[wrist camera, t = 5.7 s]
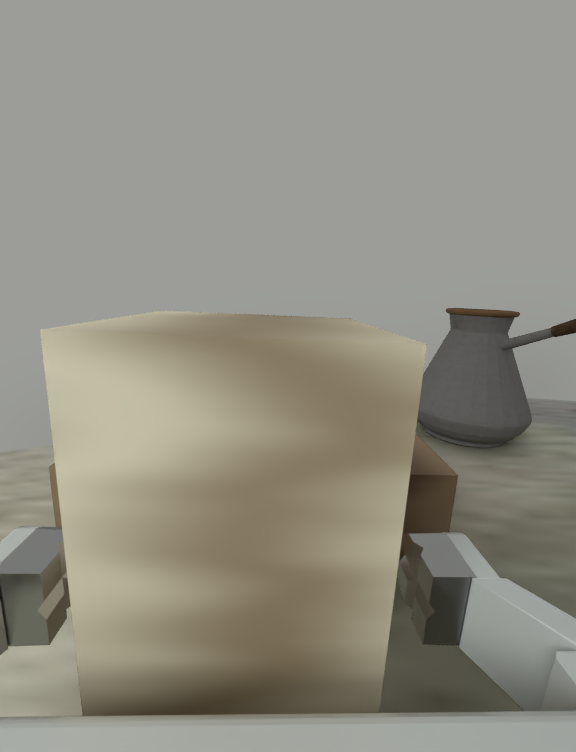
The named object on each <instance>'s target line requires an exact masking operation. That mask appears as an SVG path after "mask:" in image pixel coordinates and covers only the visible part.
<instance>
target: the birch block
mask: <svg viewBox="0 0 576 752" xmlns="http://www.w3.org/2000/svg"><path fill="white" fill-rule="evenodd" d="M40 332H41V341H42V350H43V359H44V368H45V377H46V387H47V395H48V405H49V414H50V422H51V432H52V441H53V450H54V459H55V468H56V477H57V487H58V496H59V505H60V514H61V523H62V532H63V541H64V550H65V559H66V568H67V577H68V586H69V596H70V605H71V614H72V623H73V632H74V641H75V650H76V659H77V668H78V677H79V686H80V695H81V705H82V714H83V716H135V715H222V714H314V713H379V710H380V703H381V695H382V687H383V679H384V672H385V664H386V656H387V649H388V641H389V633H390V625H391V618H392V610H393V602H394V595H395V587H396V579H397V571H398V564H399V556H400V548H401V541H402V533H403V525H404V517H405V510H406V502H407V494H408V486H409V479H410V471H411V463H412V456H413V448H414V440H415V432H416V425H417V417H418V409H419V402H420V394H421V386H422V378H423V370H424V362H425V355H426V348H427V344H424V343H421V342H418V341H415V340H412V339H409V338H406V337H403V336H400V335H397V334H394V333H391V332H388V331H386V330H382V329H380V328H376V327H373V326H370V325H368V324H364V323H362V322H358V321H356V320H353V319H347V318H324V317H300V316H275V315H250V314H226V313H202V312H176V311H157V312H151V313H144V314H137V315H131V316H124V317H118V318H111V319H105V320H99V321H92V322H86V323H79V324H73V325H67V326H60V327H54V328H47V329H41V330H40Z"/></svg>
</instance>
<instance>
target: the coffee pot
mask: <svg viewBox="0 0 576 752" xmlns="http://www.w3.org/2000/svg"><path fill="white" fill-rule="evenodd" d="M446 312H447V313H449V314H450V324H451V330H450V331H449V333H448V335H447V336H446V338H445V339H444V341H443V343H442V344H441V346H440V348H439V349H438V351H437V353H436V354H435V356H434V358H433V360H432V361H431V363H430V364H429V366H428V367H427V369H426V371H425V372H424V374H423V378H422V386H421V394H420V402H419V409H418V417H417V420H418V421H419V422H420V423H421V424H422V425H424V429H425V430H426V431H427V432H428V433H429V434H431V435H433V436H435V437H437V438H439V439H441V440H444V441H448V442H451V443H455V444H459V445H464V446H471V447H483V448H487V447H496V446H500V445H502V444H503V443H504V441H507V440H510V439H513V438H515V437H516V436H518V435H520V434H521V433H522V432H524V431H525V430H526V428H527V427H528V426H529V425H530V424H531V422H532V418H531V413H530V409H529V406H528V402H527V399H526V395H525V392H524V388H523V385H522V381H521V378H520V374H519V371H518V367H517V364H516V360H515V357H514V353H513V350H512V348H515V347H519V346H522V345H526V344H529V343H533V342H536V341H540V340H543V339H547V338H550V337H557V336H563V335H567V334H572V333H576V319H574V320H571V321H568V322H565V323H562V324H559V325H556V326H553V327H551V328H549V329H546V330H542V331H537V332H534V333H530V334H526V335H522V336H518V337H514V338H510V339H509V336H508V330H509V329H510V326H511V324H512V322H513V320H514V317H518V316H519V315H520V313H519V312H514V311H500V310H485V309H464V308H448V309H446Z"/></svg>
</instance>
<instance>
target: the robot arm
mask: <svg viewBox="0 0 576 752" xmlns="http://www.w3.org/2000/svg"><path fill="white" fill-rule="evenodd" d="M401 548H402V550H403V552H404V554H405V555H404V557H403V558H402V559H401V560H400V561H399V566H398V580H399V587H400V591H401V594H402V597H403V599H404V602H405V603H406V604H407V605H408V606H410V607H411V608H412V609H413V612H412V621H413V623H414V625H415V628H416V630H417V632H418V635H419V637H420V639H421V641H422V644H428V645H460V646H459V648H460V649H461V650H462V651H463V652H464V653H465V654H466V655H467V656H469V657H470V658H471V659H472V660H473V661H474V662H475V663H476V664H477V665H478V666H479V667H480V668H481V669H482V670H483V671H484V672H485V673H486V674H487V675H488V676H489V677H490V678H491V679H492V680H493V681H494V682H495V683H496V684H497V685H498V686H499V687H500V688H501V689H502V690H503V691H504V692H506V693H507V694H508V695H509V696H510V697H511V698H512V699H513V700H514V701H515V702H516V703H517V704H518V705H519V706H520V707H521V708H522V709H523V710H524V711H499V712H421V713H314V714H222V715H135V716H45V717H0V752H576V619H575V618H574V617H572V616H570V615H569V614H567V613H565V612H563V611H562V610H560V609H558V608H557V607H555V606H553V605H551V604H550V603H548V602H546V601H545V600H543V599H541V598H539V597H538V596H536V595H534V594H533V593H531V592H529V591H527V590H526V589H524V588H522V587H521V586H519V585H517V584H515V583H514V582H512V581H510V580H509V579H507V578H500V577H499V576H498V575H497V573H496V572H495V571H494V570H493V568H492V567H491V566H490V565H489V563H488V562H487V561H486V560H485V558H484V557H483V556H482V555H481V553H480V552H479V551H478V550H477V548H476V547H475V546H474V545H473V543H472V542H471V541H470V540H469V539H468V537H467V536H466V535H465V534H463V533H461V532H442V533H404V535H403V537H402V542H401ZM70 606H71V605H70V596H69V586H68V577H67V568H66V559H65V550H64V541H63V532H62V527H25V526H22V527H18V528H15V529H14V530H13V531H12V532H11V533H9V534H8V535H7V536H6V537H5V538H4V539H3V540H2V541H1V542H0V655H1V654H2V653H3V652H5V651H6V650H7V649H8V646H33V645H50V643H51V642H52V640H53V639H54V637H55V636H56V634H57V632H58V631H59V629H60V628H61V626H62V625H63V623H64V622H65V620H66V618H67V614H66V609H67V608H68V607H70Z"/></svg>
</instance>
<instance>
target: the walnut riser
mask: <svg viewBox="0 0 576 752" xmlns="http://www.w3.org/2000/svg"><path fill="white" fill-rule="evenodd" d="M49 471H50V480H51V489H52V497H53V506H54V515H55V523H56V527H62V523H61V514H60V505H59V496H58V487H57V477H56V468H55V463H54V464H52V465H51V466H50V467H49ZM457 479H458V475H457V474H456V473H455V472H454V471H453V470H452V469H451V468H450V467H449V466H448V465H447V464H446V463H445V462H444V461H443V460H442V459H441V458H440V457H439V456H438V455H437V454H436V453H435V452H434V451H433V450H432V449H431V448H430V447H429V446H428V445H427V444H426V443H425V442H424V441H423V440H422V439H421V438H420V437H419V436H418V435H417V434H416V433H415V440H414V448H413V456H412V463H411V471H410V479H409V486H408V494H407V502H406V510H405V517H404V525H403V533H402V537H403V535H404V533H442V532H449V528H450V522H451V516H452V509H453V503H454V497H455V491H456V485H457ZM401 542H402V541H401ZM404 555H405V554H404V552H403V550H402V548H400V556H399V560H401V559H402V558H403V557H404Z"/></svg>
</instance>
